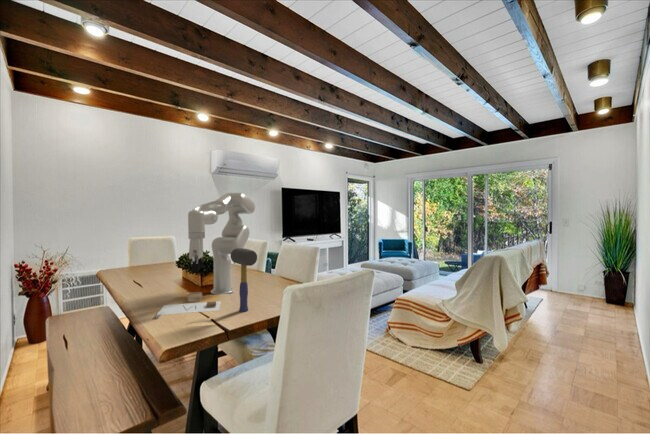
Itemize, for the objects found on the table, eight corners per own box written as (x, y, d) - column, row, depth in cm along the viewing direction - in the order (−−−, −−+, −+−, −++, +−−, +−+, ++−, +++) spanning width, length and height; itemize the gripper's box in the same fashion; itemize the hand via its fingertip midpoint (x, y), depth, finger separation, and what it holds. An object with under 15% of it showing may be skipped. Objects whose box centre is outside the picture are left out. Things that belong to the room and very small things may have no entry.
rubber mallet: (258, 314, 137) (258, 249, 136) (244, 319, 131) (244, 250, 131) (243, 308, 145) (243, 246, 144) (229, 312, 140) (229, 248, 139)
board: (164, 308, 145) (164, 305, 145) (221, 304, 152) (221, 301, 152) (156, 318, 132) (156, 315, 132) (218, 313, 138) (218, 310, 138)
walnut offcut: (207, 305, 145) (207, 302, 145) (216, 304, 146) (216, 301, 146) (206, 307, 142) (206, 304, 142) (215, 307, 143) (215, 304, 143)
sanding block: (189, 302, 155) (189, 292, 155) (202, 301, 157) (202, 291, 156) (187, 305, 150) (187, 295, 150) (200, 304, 152) (200, 294, 152)
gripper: (192, 234, 158) (193, 266, 158) (184, 237, 141) (184, 274, 141) (207, 233, 159) (208, 265, 160) (201, 237, 142) (201, 273, 143)
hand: (197, 269), depth 151 cm, fingers open, 9 cm apart
